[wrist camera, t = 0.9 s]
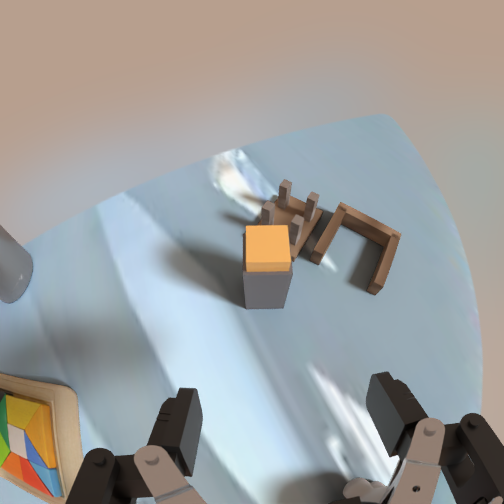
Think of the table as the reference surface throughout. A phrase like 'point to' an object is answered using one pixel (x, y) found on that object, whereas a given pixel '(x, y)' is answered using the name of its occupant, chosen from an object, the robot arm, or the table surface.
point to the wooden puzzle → (39, 437)
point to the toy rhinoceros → (364, 490)
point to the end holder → (367, 229)
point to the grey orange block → (266, 266)
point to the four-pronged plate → (292, 216)
